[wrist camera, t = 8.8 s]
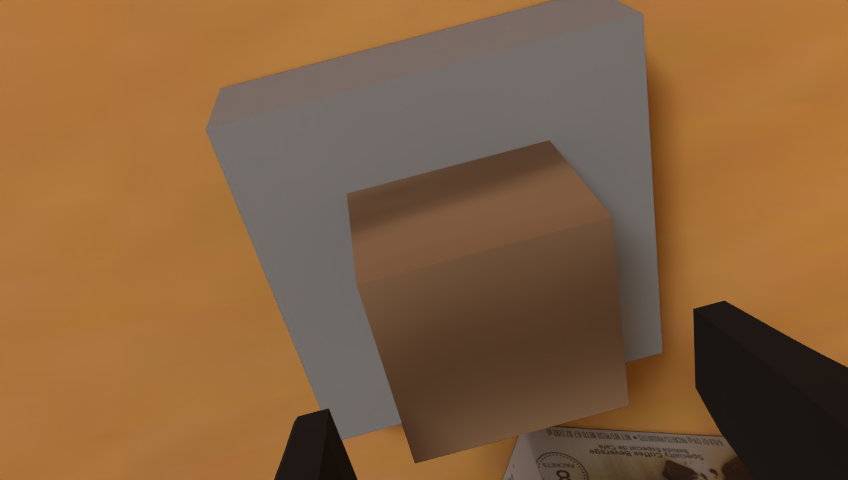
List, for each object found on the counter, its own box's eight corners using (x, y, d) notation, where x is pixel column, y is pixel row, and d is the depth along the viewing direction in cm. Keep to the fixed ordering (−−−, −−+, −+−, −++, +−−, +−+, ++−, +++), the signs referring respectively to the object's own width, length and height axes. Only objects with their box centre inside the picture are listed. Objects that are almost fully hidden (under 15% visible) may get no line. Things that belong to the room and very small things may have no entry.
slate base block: (331, 374, 23) (334, 441, 20) (220, 88, 18) (205, 129, 15) (623, 296, 23) (662, 352, 21) (595, -11, 18) (643, 13, 15)
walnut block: (346, 193, 17) (356, 285, 13) (549, 140, 17) (612, 216, 13) (395, 352, 19) (415, 463, 16) (571, 305, 19) (629, 405, 16)
